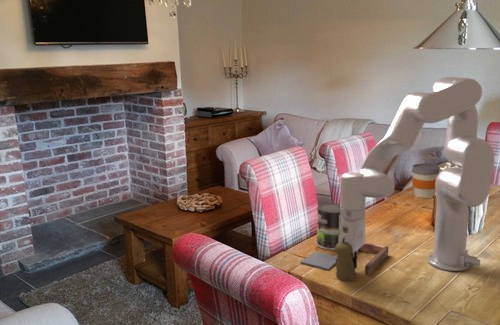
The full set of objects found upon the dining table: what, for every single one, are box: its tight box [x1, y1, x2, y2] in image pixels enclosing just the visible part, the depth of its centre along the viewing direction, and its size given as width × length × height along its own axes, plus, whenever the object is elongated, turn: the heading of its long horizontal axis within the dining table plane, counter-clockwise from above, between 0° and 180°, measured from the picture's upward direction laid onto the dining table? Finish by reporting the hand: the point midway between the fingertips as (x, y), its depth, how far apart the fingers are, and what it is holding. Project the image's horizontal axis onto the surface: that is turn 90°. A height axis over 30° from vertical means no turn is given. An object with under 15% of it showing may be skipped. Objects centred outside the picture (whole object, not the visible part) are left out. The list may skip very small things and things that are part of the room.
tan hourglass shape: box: [334, 242, 357, 282], centre depth 139 cm, size 6×6×11 cm
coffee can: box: [316, 203, 341, 251], centre depth 164 cm, size 10×10×14 cm
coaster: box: [300, 251, 337, 271], centre depth 152 cm, size 10×10×1 cm
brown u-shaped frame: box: [335, 241, 389, 276], centre depth 151 cm, size 11×18×3 cm, turn 145°
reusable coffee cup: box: [411, 163, 440, 198], centre depth 221 cm, size 12×13×15 cm
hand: (350, 268), depth 144 cm, fingers closed
